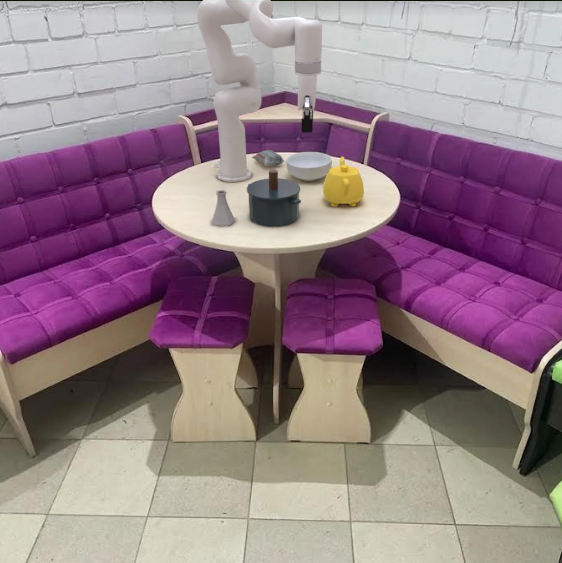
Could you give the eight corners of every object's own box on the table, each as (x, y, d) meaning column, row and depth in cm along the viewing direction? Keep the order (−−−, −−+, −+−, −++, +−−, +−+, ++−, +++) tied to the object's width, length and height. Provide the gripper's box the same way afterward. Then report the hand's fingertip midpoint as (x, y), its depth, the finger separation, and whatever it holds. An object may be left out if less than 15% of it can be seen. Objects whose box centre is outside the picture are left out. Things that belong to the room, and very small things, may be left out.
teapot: (359, 188, 198) (361, 154, 192) (366, 212, 181) (368, 175, 175) (321, 189, 198) (322, 155, 192) (324, 212, 181) (325, 176, 175)
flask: (231, 227, 173) (229, 197, 168) (208, 225, 174) (206, 195, 169) (237, 217, 179) (235, 188, 174) (215, 216, 180) (213, 186, 175)
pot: (280, 234, 169) (279, 206, 164) (233, 214, 181) (232, 188, 177) (315, 218, 178) (315, 191, 173) (268, 200, 191) (268, 174, 186)
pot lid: (273, 206, 165) (272, 185, 162) (235, 192, 175) (234, 171, 172) (311, 191, 175) (311, 170, 172) (273, 177, 185) (273, 158, 182)
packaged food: (265, 170, 215) (264, 158, 212) (251, 161, 224) (251, 149, 221) (285, 167, 218) (285, 154, 216) (270, 158, 227) (270, 146, 225)
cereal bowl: (292, 167, 217) (292, 149, 214) (335, 171, 213) (336, 153, 210) (281, 183, 204) (280, 164, 200) (326, 187, 200) (326, 168, 196)
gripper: (296, 62, 169) (296, 119, 177) (293, 73, 154) (293, 135, 163) (321, 62, 168) (319, 119, 177) (321, 73, 153) (319, 136, 162)
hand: (307, 127), depth 170 cm, fingers open, 9 cm apart
